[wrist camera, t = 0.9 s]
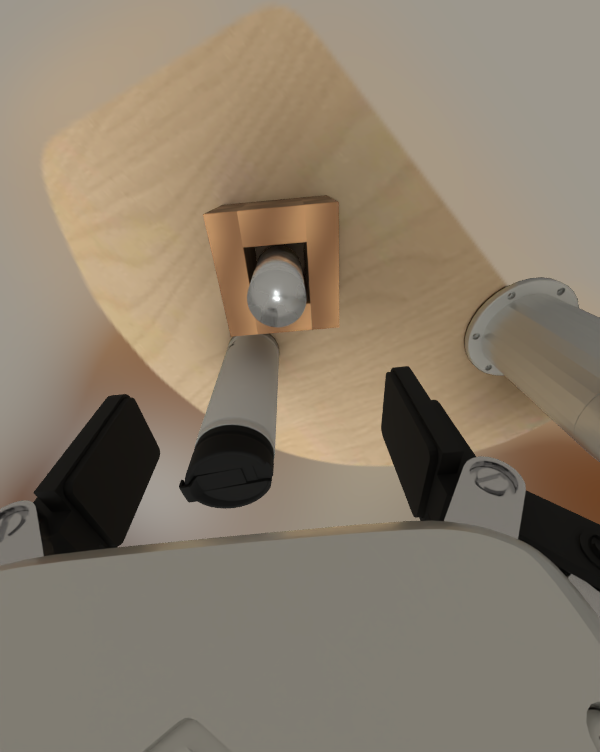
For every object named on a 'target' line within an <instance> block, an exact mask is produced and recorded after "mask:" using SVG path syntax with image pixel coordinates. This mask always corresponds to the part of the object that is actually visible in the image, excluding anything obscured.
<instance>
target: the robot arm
mask: <svg viewBox="0 0 600 752" xmlns="http://www.w3.org/2000/svg"><path fill="white" fill-rule="evenodd" d="M465 350H466V354H467V356H468V358H469V360H470V361H471V362H472V363H473V364H474V365H475V366H476V367H477V368H478V369H479V370H481V371H482V372H484V373H488V374H491V375H500V376H503V375H505V376H506V377H507V378H508V379H509V380H510V381H511V382H512V383H513V384H514V385H515V386H517V387H518V388H519V389H520V390H521V391H522V392H523V393H524V394H525V395H526V396H527V397H528V398H530V399H531V400H532V401H533V402H534V403H535V404H536V405H537V406H538V407H539V408H540V409H541V410H542V411H544V412H545V413H546V414H547V415H548V416H549V417H550V418H551V419H552V420H553V421H554V422H556V423H557V424H558V425H559V426H560V427H561V428H562V429H563V430H564V431H565V432H566V433H567V434H568V435H569V436H571V437H572V438H573V439H574V440H575V441H576V442H577V443H578V444H579V445H580V446H581V447H583V448H584V449H585V450H586V451H587V452H588V453H589V454H590V455H591V456H593V457H594V458H595V459H596V460H598V461H599V462H600V317H597V316H595V315H592V314H590V313H588V312H586V311H584V310H581V309H579V305H578V299H577V297H576V295H575V293H574V291H573V290H572V289H571V288H570V287H569V286H567V285H565V284H563V283H561V282H559V281H556V280H553V279H550V278H542V277H541V278H530V279H526V280H522V281H519V282H516V283H514V284H512V285H509V286H507V287H505V288H504V289H502V290H500V291H499V292H497V293H496V294H495V295H493V296H492V297H491V298H490V299H488V300H487V301H486V302H485V303H484V304H483V305H482V306H481V308H480V309H479V310H478V311H477V313H476V314H475V315H474V317H473V318H472V320H471V322H470V324H469V326H468V329H467V332H466V336H465ZM381 430H382V435H383V438H384V441H385V443H386V446H387V449H388V451H389V454H390V456H391V459H392V462H393V464H394V467H395V469H396V472H397V475H398V477H399V480H400V483H401V485H402V487H403V490H404V493H405V496H406V498H407V501H408V504H409V506H410V509H411V511H412V514H413V516H414V517H419V518H420V521H403V522H389V523H376V524H362V525H350V526H338V527H328V528H317V529H305V530H294V531H284V532H272V533H261V534H251V535H240V536H230V537H219V538H209V539H199V540H188V541H178V542H168V543H158V544H148V545H138V546H128V547H119V548H117V547H118V546H119V545H121V544H122V543H123V541H124V539H125V536H126V534H127V532H128V530H129V527H130V525H131V523H132V520H133V518H134V516H135V513H136V511H137V508H138V506H139V504H140V502H141V499H142V497H143V495H144V492H145V490H146V488H147V485H148V483H149V481H150V478H151V476H152V473H153V471H154V469H155V466H156V464H157V462H158V460H159V457H160V449H159V447H158V445H157V443H156V441H155V439H154V437H153V435H152V433H151V431H150V429H149V427H148V425H147V423H146V421H145V419H144V417H143V415H142V413H141V411H140V409H139V407H138V405H137V403H136V401H135V399H134V398H130V396H128V395H126V394H123V395H112V396H108V397H107V399H106V400H105V401H104V402H103V404H102V405H101V406H100V407H99V409H98V410H97V411H96V412H95V414H94V415H93V416H92V418H91V419H90V420H89V422H88V423H87V424H86V425H85V427H84V428H83V429H82V431H81V432H80V433H79V434H78V436H77V437H76V438H75V440H74V441H73V442H72V443H71V445H70V446H69V447H68V449H67V450H66V451H65V452H64V454H63V455H62V457H61V458H60V459H59V460H58V462H57V463H56V464H55V465H54V467H53V468H52V469H51V471H50V472H49V473H48V474H47V476H46V477H45V478H44V480H43V481H42V482H41V483H40V485H39V486H38V487H37V489H36V490H35V491H34V494H35V495H36V496H37V498H36V500H35V501H34V502H33V503H32V502H30V501H19V502H15V503H12V504H9V505H7V506H5V507H3V508H1V509H0V752H600V525H599V524H597V523H595V522H593V521H591V520H588V519H586V518H584V517H582V516H580V515H578V514H576V513H573V512H571V511H569V510H567V509H565V508H562V507H561V506H558V505H556V504H554V503H552V502H550V501H548V500H546V499H543V498H541V497H539V496H536V495H535V494H532V493H530V492H528V491H526V489H525V482H524V481H523V479H522V477H521V475H520V474H519V473H518V472H517V471H516V470H515V469H514V468H512V467H511V466H509V465H508V464H506V463H504V462H502V461H500V460H498V459H494V458H491V457H476V456H475V454H474V453H473V451H472V450H471V449H470V447H469V446H468V444H467V443H466V441H465V440H464V438H463V437H462V435H461V434H460V432H459V431H458V429H457V428H456V427H455V425H454V424H453V422H452V421H451V419H450V418H449V416H448V415H447V413H446V412H445V410H444V409H443V407H442V406H441V405H440V403H439V402H438V401H436V400H431V399H430V398H429V396H428V395H427V393H426V392H425V390H424V389H423V387H422V386H421V384H420V382H419V381H418V379H417V378H416V376H415V375H414V373H413V372H412V370H411V369H410V367H408V366H406V367H396V368H392V369H391V372H387V373H386V380H385V391H384V402H383V413H382V424H381Z"/></svg>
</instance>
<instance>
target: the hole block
mask: <svg viewBox="0 0 600 752" xmlns="http://www.w3.org/2000/svg"><path fill="white" fill-rule="evenodd" d="M203 216H204V221H205V225H206V230H207V234H208V238H209V243H210V247H211V252H212V256H213V260H214V265H215V269H216V274H217V278H218V282H219V287H220V291H221V296H222V300H223V304H224V309H225V313H226V318H227V322H228V326H229V331H230V335H231V337H233V336H244V335H256V334H267V333H279V332H290V331H302V330H313V329H325V328H336V327H339V202H338V201H336V200H334V199H332V198H330V197H329V196H327V195H326V196H315V197H304V198H293V199H283V200H272V201H261V202H250V203H239V204H229V205H221V206H219V207H217V208H215V209H213V210H211V211H209V212H207V213H205V214H203ZM299 242H303V244H304V260H305V275H306V277H303V279H304V286H305V292H306V306H305V309H304V312H303V313H302V315H301V316H300V318H299V319H298V320H297V321H295V322H294V323H292V324H290V325H288V326H285V327H270V326H267V325H265V324H262V323H261V322H259V321H258V320H257V319H256V318H255V317H254V316H253V315H252V313H251V311H250V310H249V307H248V303H247V292H248V289H249V286H250V283H251V280H252V276H253V273H254V270H255V267H256V264H257V258H256V251H255V246H266V245H277V244H288V243H299Z"/></svg>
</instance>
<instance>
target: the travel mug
mask: <svg viewBox="0 0 600 752" xmlns="http://www.w3.org/2000/svg"><path fill="white" fill-rule="evenodd" d="M278 366H279V348H278V345H277V342H276V341H275V339H274V338H273V337H272V336H271V335H269V334H268V333H267V334H256V335H244V336H233V338H232V339H231V341H230V343H229V346H228V349H227V352H226V355H225V357H224V360H223V363H222V366H221V369H220V372H219V375H218V378H217V381H216V384H215V387H214V390H213V393H212V396H211V399H210V402H209V405H208V408H207V411H206V414H205V417H204V420H203V423H202V426H201V429H200V432H199V435H198V438H197V441H196V444H195V449H194V453H193V455H192V458H191V461H190V464H189V467H188V470H187V473H186V477H185V482H184V480H181V482H180V485H179V488H180V490H181V491H182V493H183V495H184V496H185V498H186V499H187V501H188V502H195V501H198V502H200V503H202V504H204V505H207V506H210V507H215V508H236V507H242V506H245V505H248V504H250V503H252V502H255V501H257V500H258V499H260V498H261V497H262V496H263V495H264V494H266V493H267V491H268V490H269V489H270V486H271V481H272V476H273V467H274V466H273V465H274V463H273V462H274V455H275V437H276V413H277V390H278Z"/></svg>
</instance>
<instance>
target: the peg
mask: <svg viewBox="0 0 600 752" xmlns="http://www.w3.org/2000/svg"><path fill="white" fill-rule="evenodd" d="M247 303H248V307H249V310H250V311H251V313H252V315H253V316H254V317H255V318H256V319H257V320H258V321H259V322H261V323H262V324H265V325H267V326H270V327H285V326H288V325H290V324H292V323H294V322H295V321H297V320H298V319H299V318H300V316H301V315H302V313H303V312H304V309H305V306H306V292H305V286H304V279H303V273H302V267H301V262H300V259H299V257H298V256H297V254H296V253H295V252H294V251H293V250H292V249H290V248H288V247H286V246H282V245H275V246H271V247H269V248H267V249H265V250H264V251H263V252H262V253H261V255H260V256H259V259H258V261H257V264H256V267H255V270H254V273H253V276H252V280H251V283H250V286H249V289H248V292H247Z"/></svg>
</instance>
